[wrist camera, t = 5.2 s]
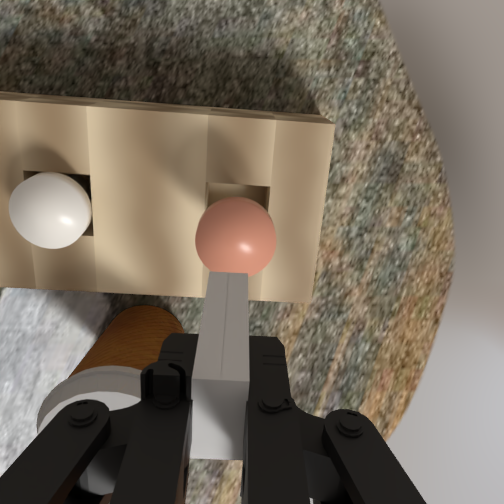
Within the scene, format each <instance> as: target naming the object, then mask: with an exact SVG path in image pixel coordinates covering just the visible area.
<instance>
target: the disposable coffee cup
mask: <svg viewBox="0 0 504 504" xmlns="http://www.w3.org/2000/svg"><path fill="white" fill-rule="evenodd" d="M171 333H184V330H183V328H182V326H181V324H180V322H179V321H178V320H177V319H176V318H175V317H174V316H173V315H172V314H171V313H169V312H168V311H166V310H164V309H161V308H159V307H155V306H149V305H141V306H134V307H131V308H128V309H126V310H124V311H122V312H121V313H120V314H118V315H117V316H116V317H115V318H114V319H113V321H112V322H111V323H110V325H109V326H108V327H107V328H106V330H105V331H104V332H103V334H102V335H101V336H100V337H99V339H98V340H97V341H96V343H95V344H94V345H93V347H92V348H91V349H90V350H89V352H88V353H87V354H86V355H85V357H84V358H83V359H82V361H81V362H80V363H79V364H78V366H77V367H76V368H75V370H74V371H73V372H72V373H71V375H70V376H69V377H68V379H66V380H64V381H63V382H61V383H60V384H58V385H57V386H56V387H55V388H54V389H53V390H52V391H51V392H50V393H49V395H48V396H47V397H46V398H45V400H44V401H43V403H42V406H41V408H40V410H39V413H38V418H37V433H38V434H39V433H40V432H41V431H42V430H43V429H44V428H45V427H46V425H47V424H48V423H49V422H50V421H51V420H52V419H53V418H54V417H55V415H56V414H57V413H58V412H59V411H60V410H61V409H63V408H64V407H65V406H66V405H68V404H70V403H73V402H75V401H78V400H84V399H93V400H98V401H101V402H103V403H105V404H106V405H107V407H108V408H109V411H112V410H117V409H123V408H126V407H130V406H132V405H134V404H136V403H138V402H139V401H141V387H140V373H141V372H142V370H143V369H144V368H145V367H146V366H148V365H149V364H151V363H154V362H157V361H158V357H159V353H160V350H161V346H162V343H163V341H164V340H165V339H166V338H167V337H168V336H169V335H170V334H171ZM37 436H38V435H37Z"/></svg>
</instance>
